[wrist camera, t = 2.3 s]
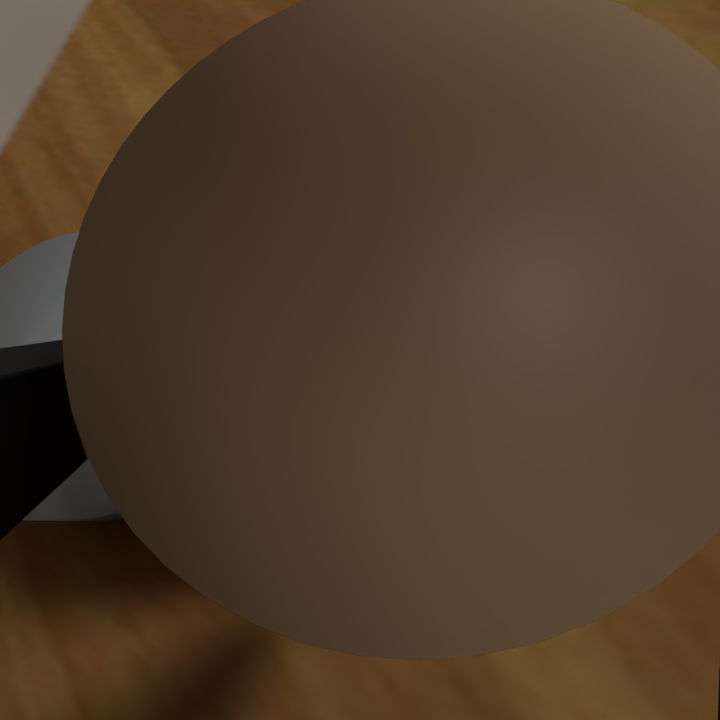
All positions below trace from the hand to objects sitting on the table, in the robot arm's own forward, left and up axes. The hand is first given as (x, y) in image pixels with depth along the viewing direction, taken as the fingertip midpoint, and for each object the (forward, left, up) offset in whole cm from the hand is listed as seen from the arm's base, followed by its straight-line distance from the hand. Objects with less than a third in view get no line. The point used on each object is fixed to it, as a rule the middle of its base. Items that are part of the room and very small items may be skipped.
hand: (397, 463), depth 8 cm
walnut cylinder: (+1, 0, -9) cm, 9 cm away
